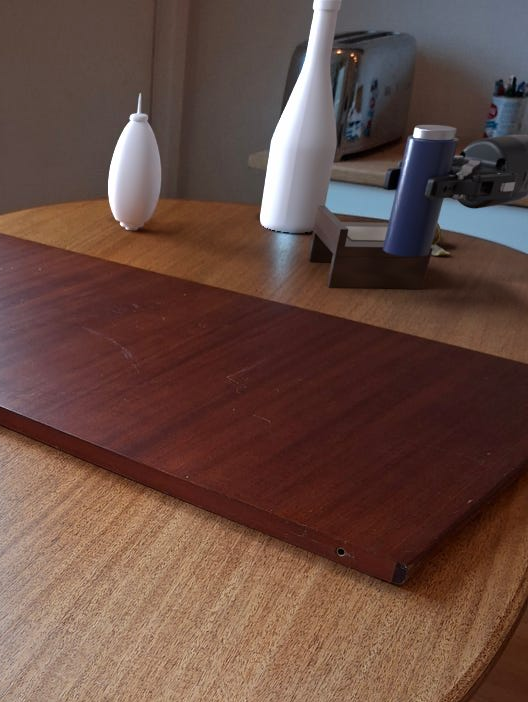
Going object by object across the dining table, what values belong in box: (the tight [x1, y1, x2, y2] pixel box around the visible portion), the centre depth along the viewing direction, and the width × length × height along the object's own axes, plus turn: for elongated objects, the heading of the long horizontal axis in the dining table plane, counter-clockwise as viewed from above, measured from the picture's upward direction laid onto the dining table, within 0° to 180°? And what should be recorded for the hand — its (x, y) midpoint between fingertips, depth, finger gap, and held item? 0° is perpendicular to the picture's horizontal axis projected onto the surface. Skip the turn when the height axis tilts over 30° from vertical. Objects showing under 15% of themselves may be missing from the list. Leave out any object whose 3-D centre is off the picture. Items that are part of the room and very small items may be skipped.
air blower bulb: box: [107, 92, 162, 231], centre depth 130 cm, size 8×8×18 cm
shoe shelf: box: [307, 205, 433, 290], centre depth 116 cm, size 12×13×7 cm
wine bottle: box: [259, 0, 343, 234], centre depth 128 cm, size 10×10×30 cm
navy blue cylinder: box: [383, 124, 460, 257], centre depth 102 cm, size 5×5×13 cm
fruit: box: [431, 223, 451, 256], centre depth 127 cm, size 8×8×4 cm
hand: (407, 184), depth 100 cm, fingers closed on navy blue cylinder, 5 cm apart
